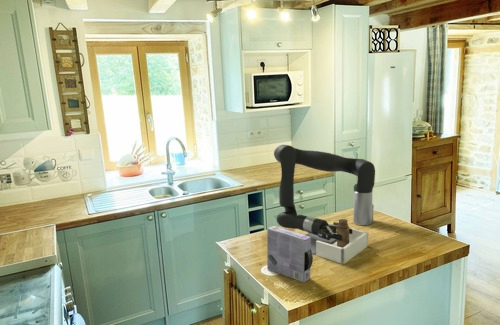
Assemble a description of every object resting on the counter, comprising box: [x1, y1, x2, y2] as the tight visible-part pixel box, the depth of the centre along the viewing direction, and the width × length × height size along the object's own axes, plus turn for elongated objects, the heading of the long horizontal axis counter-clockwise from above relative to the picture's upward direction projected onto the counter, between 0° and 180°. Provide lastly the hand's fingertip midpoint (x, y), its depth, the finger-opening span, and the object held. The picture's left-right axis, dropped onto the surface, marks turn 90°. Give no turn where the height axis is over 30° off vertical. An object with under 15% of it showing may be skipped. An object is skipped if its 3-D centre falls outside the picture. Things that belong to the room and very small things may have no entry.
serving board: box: [305, 232, 337, 256], centre depth 173 cm, size 22×14×1 cm, turn 137°
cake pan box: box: [266, 225, 314, 284], centre depth 145 cm, size 19×5×18 cm, turn 48°
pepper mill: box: [336, 218, 350, 248], centre depth 162 cm, size 5×5×14 cm
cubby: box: [315, 227, 369, 265], centre depth 163 cm, size 21×13×7 cm, turn 137°
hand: (347, 234), depth 160 cm, fingers open, 8 cm apart
